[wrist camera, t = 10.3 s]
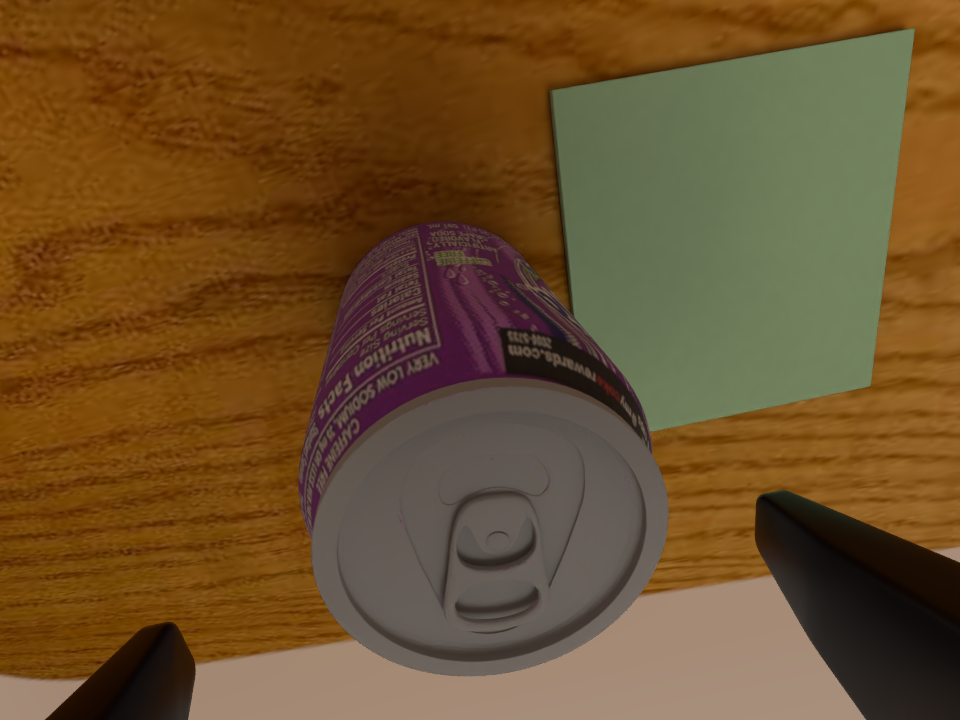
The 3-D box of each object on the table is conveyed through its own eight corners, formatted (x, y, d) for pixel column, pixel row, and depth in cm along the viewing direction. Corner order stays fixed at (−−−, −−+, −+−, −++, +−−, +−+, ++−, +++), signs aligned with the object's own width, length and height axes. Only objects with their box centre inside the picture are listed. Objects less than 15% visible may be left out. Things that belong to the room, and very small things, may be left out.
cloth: (863, 382, 24) (870, 386, 24) (583, 440, 24) (586, 445, 23) (905, 29, 19) (915, 27, 19) (548, 90, 19) (551, 89, 18)
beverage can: (537, 399, 23) (671, 669, 12) (351, 413, 22) (310, 718, 11) (541, 213, 20) (723, 342, 9) (328, 221, 19) (243, 376, 8)
